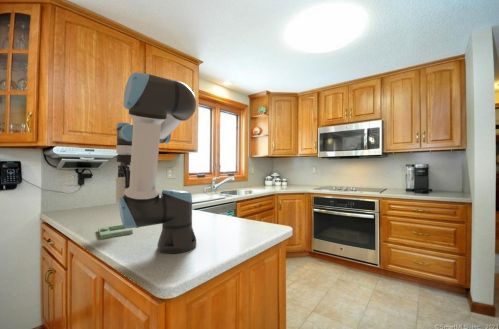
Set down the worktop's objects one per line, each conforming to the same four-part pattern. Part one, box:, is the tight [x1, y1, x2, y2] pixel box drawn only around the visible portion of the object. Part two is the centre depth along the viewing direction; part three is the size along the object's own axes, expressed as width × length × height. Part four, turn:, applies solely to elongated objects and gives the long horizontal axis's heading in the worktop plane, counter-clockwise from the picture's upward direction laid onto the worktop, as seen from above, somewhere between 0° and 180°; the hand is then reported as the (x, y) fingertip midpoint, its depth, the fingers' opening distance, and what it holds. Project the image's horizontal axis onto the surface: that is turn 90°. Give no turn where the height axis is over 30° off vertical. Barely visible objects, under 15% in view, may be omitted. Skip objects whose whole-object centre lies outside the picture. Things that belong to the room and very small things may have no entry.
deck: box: [97, 223, 133, 240], centre depth 113 cm, size 16×13×3 cm
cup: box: [115, 176, 126, 204], centre depth 113 cm, size 8×8×12 cm
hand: (125, 199), depth 113 cm, fingers closed on cup, 8 cm apart
